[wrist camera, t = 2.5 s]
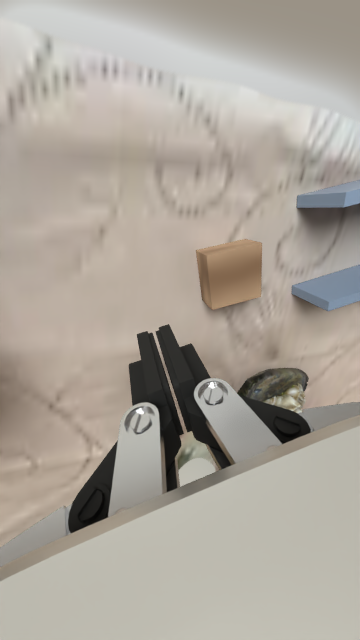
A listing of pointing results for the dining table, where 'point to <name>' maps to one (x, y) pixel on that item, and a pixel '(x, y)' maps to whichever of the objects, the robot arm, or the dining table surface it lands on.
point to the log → (277, 388)
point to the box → (337, 285)
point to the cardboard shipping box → (230, 272)
